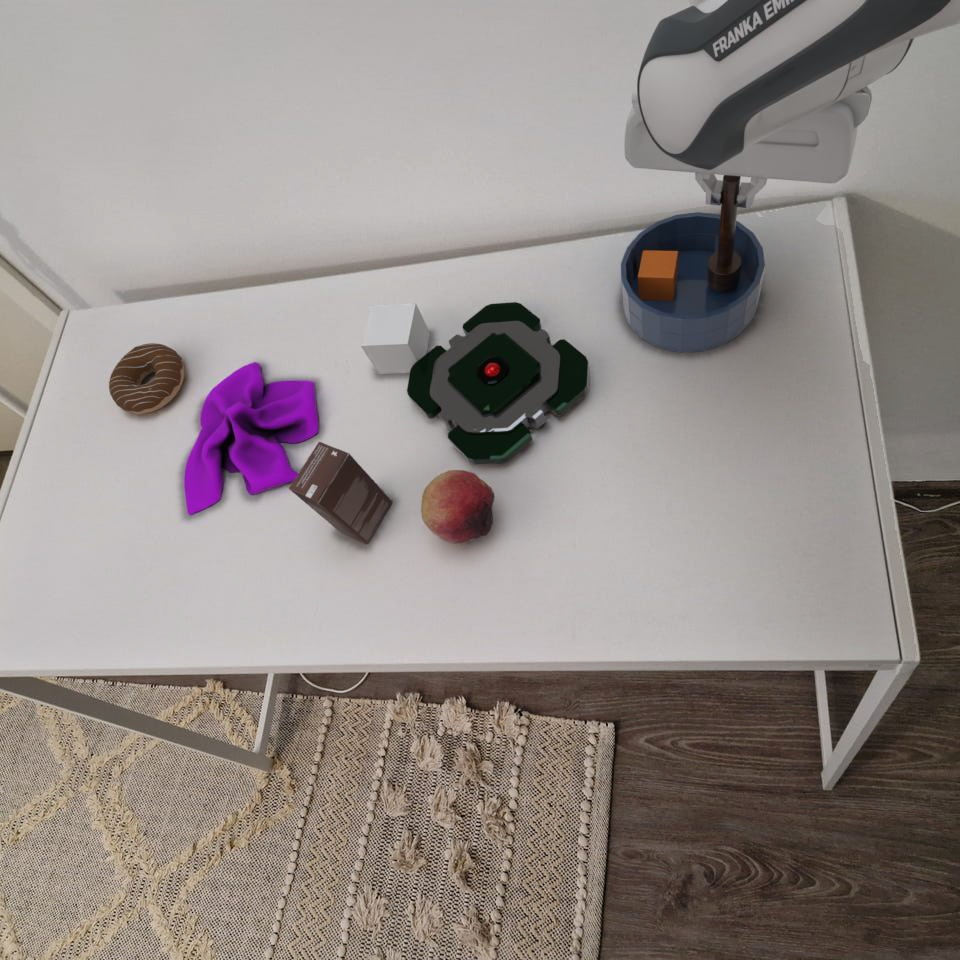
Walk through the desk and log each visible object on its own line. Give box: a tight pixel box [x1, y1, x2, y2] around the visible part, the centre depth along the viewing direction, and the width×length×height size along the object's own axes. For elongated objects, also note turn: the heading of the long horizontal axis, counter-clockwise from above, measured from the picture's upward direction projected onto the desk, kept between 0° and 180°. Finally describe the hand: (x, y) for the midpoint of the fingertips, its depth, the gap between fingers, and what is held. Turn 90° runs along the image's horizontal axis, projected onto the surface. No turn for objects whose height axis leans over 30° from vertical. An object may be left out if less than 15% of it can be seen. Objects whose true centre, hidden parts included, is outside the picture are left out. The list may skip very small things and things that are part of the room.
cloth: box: [183, 361, 319, 516], centre depth 87 cm, size 22×19×6 cm
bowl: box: [620, 211, 766, 353], centre depth 81 cm, size 15×15×6 cm
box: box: [288, 441, 393, 545], centre depth 75 cm, size 6×4×12 cm
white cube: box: [360, 302, 431, 375], centre depth 87 cm, size 6×6×6 cm
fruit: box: [420, 469, 495, 546], centre depth 74 cm, size 8×8×8 cm
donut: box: [108, 342, 185, 414], centre depth 96 cm, size 11×11×4 cm
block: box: [638, 250, 678, 301], centre depth 82 cm, size 4×4×4 cm
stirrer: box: [707, 175, 742, 292], centre depth 75 cm, size 4×4×15 cm
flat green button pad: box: [406, 301, 590, 466], centre depth 82 cm, size 18×18×5 cm
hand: (729, 202), depth 71 cm, fingers closed on stirrer, 2 cm apart
